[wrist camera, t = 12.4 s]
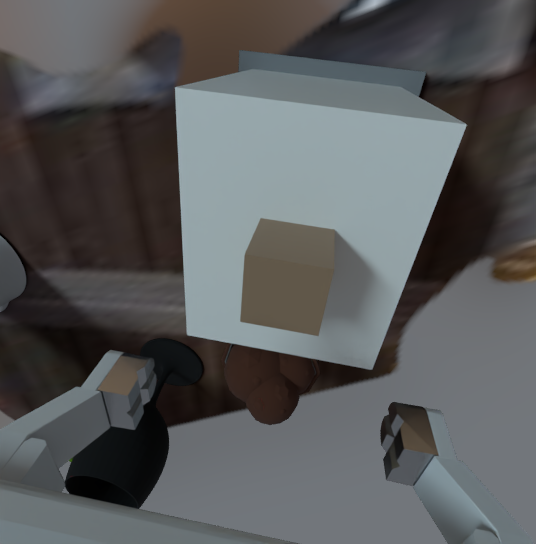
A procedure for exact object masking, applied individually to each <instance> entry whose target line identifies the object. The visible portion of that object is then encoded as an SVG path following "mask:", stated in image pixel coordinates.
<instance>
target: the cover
mask: <svg viewBox="0 0 536 544" xmlns="http://www.w3.org/2000/svg"><path fill="white" fill-rule="evenodd" d="M175 98H176V118H177V139H178V160H179V180H180V201H181V222H182V243H183V263H184V284H185V305H186V325H187V335H190V336H196V337H201V338H206V339H212V340H217V341H222V342H227V343H233V344H238V345H243V346H248V347H254V348H259V349H264V350H270V351H275V352H280V353H285V354H291V355H296V356H301V357H306V358H312V359H317V360H322V361H328V362H333V363H338V364H343V365H349V366H354V367H359V368H364V369H370V370H372V369H373V366H374V363H375V361H376V358H377V356H378V353H379V350H380V348H381V345H382V343H383V340H384V338H385V335H386V332H387V330H388V327H389V325H390V322H391V319H392V317H393V314H394V312H395V309H396V306H397V304H398V301H399V299H400V296H401V294H402V291H403V288H404V286H405V283H406V281H407V278H408V275H409V273H410V270H411V268H412V265H413V263H414V260H415V257H416V255H417V252H418V250H419V247H420V244H421V242H422V239H423V237H424V234H425V232H426V229H427V226H428V224H429V221H430V219H431V216H432V213H433V211H434V208H435V206H436V203H437V200H438V198H439V195H440V193H441V190H442V188H443V185H444V182H445V180H446V177H447V175H448V172H449V169H450V167H451V164H452V162H453V159H454V157H455V154H456V151H457V149H458V146H459V144H460V141H461V138H462V136H463V133H464V131H465V128H466V126H467V124H465V123H463V122H462V121H460V120H458V119H456V118H455V117H453V116H451V115H449V114H448V113H446V112H444V111H442V110H441V109H439V108H437V107H435V106H433V105H432V104H430V103H428V102H426V101H425V100H423V99H421V98H419V97H418V96H416V95H414V94H412V93H411V92H409V91H407V90H405V89H404V88H402V87H397V86H389V85H381V84H373V83H364V82H356V81H348V80H339V79H331V78H323V77H315V76H306V75H298V74H290V73H281V72H273V71H265V70H257V69H251V70H247V71H242V72H238V73H234V74H229V75H225V76H222V77H217V78H212V79H208V80H204V81H199V82H195V83H191V84H187V85H182V86H178V87H175Z"/></svg>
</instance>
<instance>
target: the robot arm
mask: <svg viewBox="0 0 536 544" xmlns="http://www.w3.org/2000/svg"><path fill="white" fill-rule="evenodd" d="M25 286H26V274H25V270H24V267H23V265H22V263H21V261H20V259H19V257H18V255H17V254H16V252H15V251H14V250H13V248H12V247H11V246H10V245H9V244H8V243H7V241H6V240H5V239H4V238H3V237H1V236H0V312H2V311H3V310H5V309H6V307H7V306H8V303H9V301H11V300H12V299H14V298H16V297H18V296H19V295H21V294H22V292H23V291H24V289H25ZM154 366H155V364H154V359H153V358H148V357H143V356H139V355H134V354H129V353H124V352H119V351H114V350H110V351H108V352H107V353H106V354H105V355H104V357H103V358H102V359H101V361H100V362H99V363H98V365H97V366H96V367H95V369H94V370H93V371H92V373H91V374H90V376H89V377H88V378H87V380H86V381H85V382H84V384H83V385H82V386H81V387H75V388H73V389H72V390H70V391H68V392H66V393H64V394H63V395H61V396H59V397H57V398H55V399H54V400H52V401H50V402H48V403H46V404H45V405H43V406H41V407H39V408H37V409H36V410H34V411H32V412H30V413H28V414H27V415H25V416H23V417H21V418H19V419H18V420H16V421H14V422H12V423H10V424H9V425H7V426H5V427H3V428H1V429H0V544H298V543H293V542H288V541H284V540H280V539H275V538H270V537H265V536H261V535H256V534H252V533H247V532H243V531H238V530H234V529H229V528H224V527H220V526H215V525H210V524H206V523H201V522H197V521H192V520H187V519H182V518H178V517H174V516H169V515H164V514H160V513H155V512H150V511H145V510H141V509H136V508H132V507H127V506H123V505H118V504H113V503H109V502H104V501H99V500H95V499H90V498H85V497H81V496H76V495H72V494H67V493H62V491H63V489H64V487H65V481H64V479H63V477H62V475H61V473H60V471H59V468H60V467H61V466H63V465H64V464H65V463H66V462H68V461H69V460H70V459H71V458H73V457H74V456H75V455H76V454H78V453H79V452H80V451H81V450H83V449H84V448H85V447H86V446H88V445H89V444H90V443H91V442H93V441H94V440H95V439H96V438H98V437H99V436H100V435H101V434H103V433H104V432H105V431H106V430H108V429H109V428H110V426H114V427H120V428H126V429H132V430H135V429H136V427H137V425H138V423H139V421H140V419H141V417H142V415H143V413H144V410H143V405H144V404H146V403H148V402H149V401H150V399H151V397H152V395H153V393H154V390H155V386H156V374H155V373H154V371H153V368H154ZM388 410H389V415H387V416H385V417H384V419H383V421H382V425H381V445H382V447H383V448H384V450H385V451H386V452H387V453H386V456H385V457H384V459H383V461H384V467H385V474H386V480H388V481H392V482H396V483H401V484H405V485H410V486H414V487H413V488H414V490H415V492H416V493H417V495H418V496H419V498H420V500H421V501H422V503H423V504H424V506H425V508H426V509H427V511H428V512H429V514H430V515H431V517H432V519H433V520H434V522H435V524H436V525H437V527H438V528H439V530H440V531H441V533H442V535H443V536H444V538H445V540H446V541H447V543H448V544H534V542H533V540H532V538H531V537H530V536H529V535H528V534H527V533H526V532H525V531H524V529H523V528H522V527H521V526H520V525H519V524H518V523H517V522H516V520H515V519H514V518H513V517H512V516H511V515H510V514H509V513H508V511H507V510H506V509H505V508H504V507H503V506H502V505H501V504H500V503H499V502H498V500H497V499H496V498H495V497H494V496H493V495H492V494H491V493H490V491H489V490H488V489H487V488H486V487H485V486H484V485H483V484H482V483H481V481H480V480H479V479H478V478H477V477H476V476H475V475H474V474H473V472H472V471H471V470H470V469H469V468H468V467H467V466H466V465H465V463H464V462H463V461H459V460H457V456H456V453H455V450H454V447H453V444H452V441H451V438H450V435H449V432H448V429H447V425H446V422H445V419H444V416H443V413H442V412H441V411H440V410H435V409H429V408H423V407H420V406H414V405H408V404H402V403H396V402H392V403H391V404H390V406H389V408H388Z"/></svg>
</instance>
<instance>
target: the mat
mask: <svg viewBox="0 0 536 544" xmlns="http://www.w3.org/2000/svg"><path fill="white" fill-rule="evenodd" d="M251 69H257V70H265V71H273V72H281V73H290V74H298V75H306V76H315V77H323V78H331V79H339V80H348V81H356V82H364V83H373V84H381V85H389V86H397V87H402V88H404V89H405V90H407V91H409V92H411V93H412V94H414V95H416V96H418V97H419V94H420V91H421V88H422V84H423V81H424V78H425V75H426V72H421V71H412V70H404V69H395V68H387V67H378V66H370V65H361V64H353V63H345V62H336V61H328V60H319V59H311V58H302V57H294V56H285V55H277V54H268V53H260V52H251V51H243V50H240V51H239V72H242V71H247V70H251Z"/></svg>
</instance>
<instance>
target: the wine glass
mask: <svg viewBox="0 0 536 544" xmlns="http://www.w3.org/2000/svg"><path fill="white" fill-rule="evenodd" d="M140 356H143V357H148V358H153V359H154V364H155V366H154V368H153V371H154V373H155V374H156V378H157V379H158V380H159V381H158V383H157V385H156V386H155V390H154V393H153V395H152V397H151V399H150V401H149V402H148V403H146V404H144V405H143V410H144V413H143V415H142V417H141V419H140V421H139V423H138V425H137V427H136V429H135V430H132V429H126V428H120V427H114V426H110V428H109V429H108V430H106V431H105V432H104V433H103V434H101V435H100V436H99V437H98V438H96V439H95V440H94V441H93V442H91V443H90V444H89V445H88V446H86V447H85V448H84V449H83V450H81V451H80V452H79V453H78V454H76V455H75V456H74V457H73V459H72V462H71V465H70V467H69V470H68V473H67V476H66V480H65V487H66V489H67V491H68V492H69V493H70V494H72V495H76V496H81V497H85V498H90V499H95V500H99V501H104V502H109V503H113V504H118V505H123V506H127V507H132V508H136V509H139V508H140V507H141V505H142V504H143V503H144V501H145V500H146V499H147V497H148V495H149V494H150V493H151V491H152V490H153V488H154V486H155V485H156V483H157V481H158V479H159V477H160V475H161V473H162V471H163V468H164V466H165V462H166V459H167V455H168V450H169V435H168V430H167V426H166V423H165V421H164V419H163V417H162V415H161V414H160V412H159V411H158V410H157V408H156V406H155V405H156V401H157V398H158V396H159V393H160V391H161V389H162V387H163V385H164V383H167V384H171V385H177V386H186V385H190V384H193V383H195V382H196V381H197V380H198V379H199V378H200V377H201V375H202V372H203V366H202V362H201V360H200V358H199V357H198V356H197V354H196V353H195V352H194V351H193V350H192V349H190V348H189V347H188V346H186V345H184V344H182V343H180V342H178V341H175V340H171V339H154V340H151V341H149V342H147V343H146V344H145V345H144V346H143V347H142V349H141V352H140Z"/></svg>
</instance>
